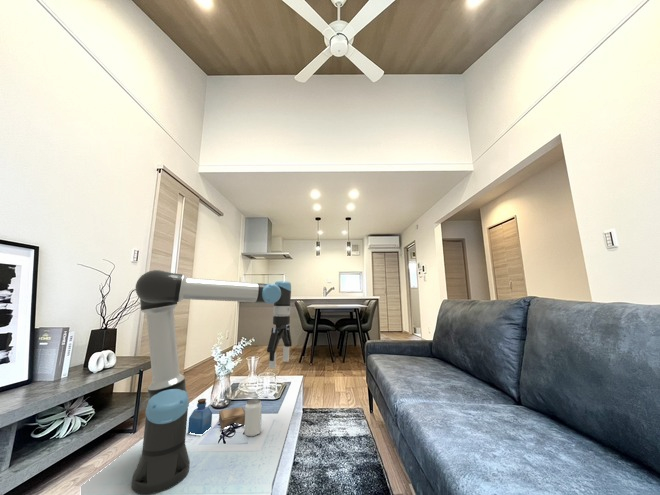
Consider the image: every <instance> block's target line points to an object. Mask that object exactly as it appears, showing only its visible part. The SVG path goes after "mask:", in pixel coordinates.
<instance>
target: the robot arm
mask: <svg viewBox="0 0 660 495" xmlns="http://www.w3.org/2000/svg"><path fill="white" fill-rule="evenodd" d="M135 293H136V295H137V297H138V298H139V303H140V311H141V312H142V313H143V314H145V315H146V323H147V334H148V335H147V336H148V346H149V358H150V368H151V378H152V381H151V382H150V384H149V385H148V386H147V392H148V393H147V395H148V401H147V406H146V408H145V412H144V413H145V418H144V419H145V420H144V422H145V423H144V430H143V439H142V440H143V441H142V448H141V449H142V450H141V455H140V457H139V460H138V463H137V465H136V467H135V469H134V472H133V475H132V479H131V490H132V491H133V492H134V493H136V494H139V495H140V494H141V495H149V494H150V495H151V494H156V493H160V492H163V491H165V490H169V489H170V488H172V487H174V486H176V485H178V484H179V483H180V482H182V481H183V480H184V479H185V478H186V477H187V476H188V474H189V471H190V462H191V461H190V458H189V454H188V450H187V446H186V436H187V427H188V426H187V424H188V423H187V422H188V415H189V414H188V412H189V406H190V399H189V398H190V397H189V393H188V392H187V387H186V386H187V385H186V378H185V377H186V376H185V375H183V374H181V373H180V372H181V370H180V364H179V352H178V342H177V333H176V322H175V321H176V320H175V311H174V310H175V308H176V307H177V306H178V303H179V302H181V301H183V300H193V301H194V300H195V301H215V302H216V301H217V302H218V301H219V302H239V303H240V302H242V303H243V302H245V303H259V304H260V303H261V304H262V303H263V304H264V303H265V304H273V310H272V311H273V313H272V314H273V317H272V325H275V327H271V331H270V332H271V334H270V337H269V341H268V345H267V349H266V352H267V353H269V359H268V360H269V362H268V369H269V370H276V366H277V352H276V351H277V348H278V345H279V343H280V341H281V340H282V342H283V348H282V349H283V350H282V352H283V353H282V362H284V363H289V361H290V348H291V347H292V346H293V345H292V337H291V330H290V323H291V317H290V315H291V310H292V308H291V297H292V283H291V282H290V281H284V280H283V281H282V280H281V281H280V280H279V281H274V283H262V282H260V283H258V282H249V281H235V280H234V281H233V280H224V279H222V280H221V279H210V278H196V277H188V276H186V275H185V274H183V273H174V272H168V271H164V270H160V269H158V270H157V269H156V270H155V269H154V270H150V271H147V272H145V273H143V274H141V275H140V276H139V277H138V279H137V281H136V283H135Z"/></svg>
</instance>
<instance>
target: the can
mask: <svg viewBox="0 0 660 495" xmlns="http://www.w3.org/2000/svg"><path fill="white" fill-rule="evenodd" d="M262 408H263V407H262V402H261V399H260V398H256V397H255V398H249V399H247V400H246V404H245V409H244V410H245V426H243V427H244V428H243V429H244V432H243V433H244V435H245V436H246V437H249V438H250V437H255V435H256V436H258V435H260V433H261V430H262ZM257 434H258V435H257Z"/></svg>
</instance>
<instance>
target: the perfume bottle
mask: <svg viewBox="0 0 660 495" xmlns="http://www.w3.org/2000/svg"><path fill="white" fill-rule="evenodd" d="M206 401H207V399H206V398H199V399H198V400H197V403H196V407H197V408H195V409H194V410H193V411H192V413H191V414H190V415H189V417H188V426H187V434H188V433H190V432H191V433H195V434H203V433H204V432H205V431H206V430H208V429H209V428H210V427H211V428H212V421H213V411H212V410H211V408H210V406H207V402H206Z"/></svg>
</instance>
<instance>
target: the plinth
mask: <svg viewBox="0 0 660 495" xmlns="http://www.w3.org/2000/svg"><path fill="white" fill-rule="evenodd" d="M218 422H220V423H219V426H221V427H220V429H223V428H224V427H227V426H229V425H230V424H232V423H239V424H242V425H245V409H244V407H243V406H240V407H239V406H238V407H233V408H229V409H223V410H220V411H219V415H218Z"/></svg>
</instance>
